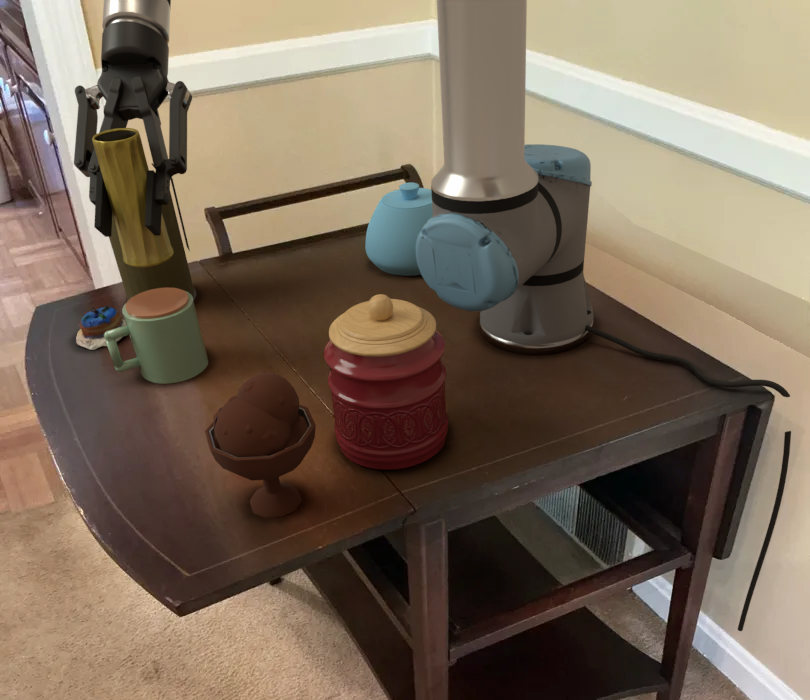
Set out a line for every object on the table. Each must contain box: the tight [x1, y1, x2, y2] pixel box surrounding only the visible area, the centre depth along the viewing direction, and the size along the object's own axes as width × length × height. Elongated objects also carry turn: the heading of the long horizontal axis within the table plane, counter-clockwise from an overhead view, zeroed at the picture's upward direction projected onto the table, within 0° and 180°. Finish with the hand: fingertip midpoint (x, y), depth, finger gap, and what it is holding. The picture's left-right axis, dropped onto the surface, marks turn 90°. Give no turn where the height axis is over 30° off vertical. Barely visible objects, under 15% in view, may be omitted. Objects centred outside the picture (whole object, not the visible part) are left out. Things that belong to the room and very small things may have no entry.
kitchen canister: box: [323, 293, 449, 471], centre depth 92 cm, size 13×13×18 cm
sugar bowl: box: [364, 181, 433, 277], centre depth 131 cm, size 15×15×12 cm
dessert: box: [75, 305, 126, 351], centre depth 121 cm, size 8×7×6 cm
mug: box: [104, 288, 209, 385], centre depth 110 cm, size 9×12×9 cm
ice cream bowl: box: [204, 371, 317, 519], centre depth 85 cm, size 11×11×15 cm
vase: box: [92, 127, 174, 267], centre depth 100 cm, size 6×6×14 cm
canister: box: [108, 176, 197, 301], centre depth 123 cm, size 11×10×20 cm
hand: (127, 230), depth 98 cm, fingers closed on vase, 5 cm apart
